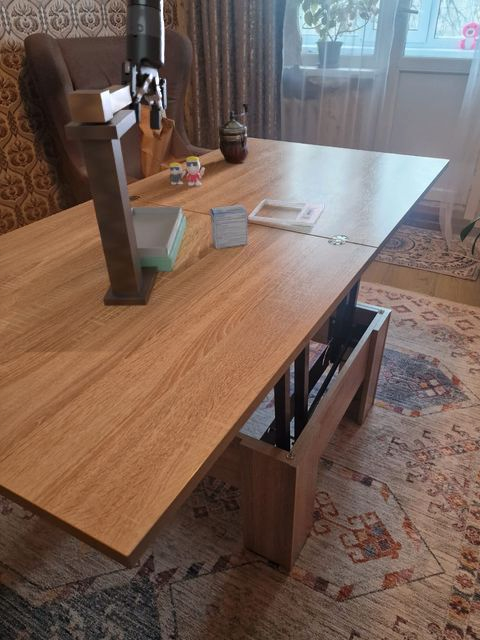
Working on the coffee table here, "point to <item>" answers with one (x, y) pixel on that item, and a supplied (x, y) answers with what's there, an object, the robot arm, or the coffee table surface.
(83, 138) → the tall wooden post
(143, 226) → the open plastic tray
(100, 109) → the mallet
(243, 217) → the medicine box
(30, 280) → the coffee table surface
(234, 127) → the coffee grinder
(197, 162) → the toy figures
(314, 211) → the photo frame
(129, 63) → the robot arm
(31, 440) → the coffee table surface
